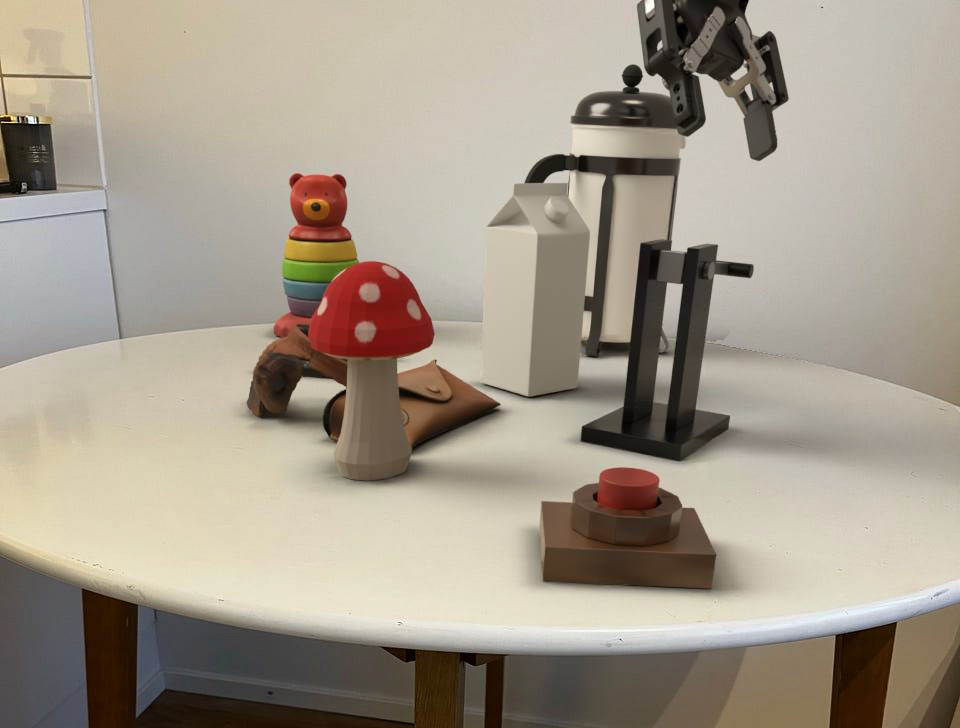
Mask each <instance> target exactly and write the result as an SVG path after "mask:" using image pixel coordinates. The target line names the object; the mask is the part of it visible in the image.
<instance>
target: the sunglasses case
mask: <svg viewBox="0 0 960 728" xmlns="http://www.w3.org/2000/svg"><path fill="white" fill-rule="evenodd" d="M437 361H438V360H437V359H433V360H431V361H430V362H429V363H426V364H424V365H421V366H418V367H415V368H411V369H408V370H404V371H401V372H397V373H398V388H399V399H400V406H401V413H402V419H403V424H404V429H405V432H406V435H407V437H408V440H409V442H410V445H411V448H412V449H413V448H414V447H416V446H417V445H419V444H421V443H423V442H424V441H426V440H429V439H432V438H434V437H436V436H438V435H440V434H442V433H445V432H447V431H449V430H452V429H455V428H457V427H461V426H463V425H466V424H468V423H470V422H471V421H473V420H476V419H477V418H479V417H482V416H483V415H485V414H488V413H489V412H491V411H493V410H494V409H496V408H498V407H499V406H502V404H501V403H500V402H499V401H496V400H495V399H493V398H492V397H490V396H489V395H487V394H486V393H483V392H482V391H480V390H478V389H477V388H475V387H474V386H473V385H471V384H470V383H467V382H466V381H464V380H463V379H461V378H460V377H458V376H456V375H455V374H453V373H451V372H450V371H448V370H447V369H446V368H443V367H442V366H440V365H438V364H437ZM345 402H346V388H344V389H342V390H340V391H339V392H337V393H336V394H335V395H334V396H332V397H331V398H330V399H329V400H328V402H327V403H326V405H325V407H324V409H323V412H322V413H323V414H322V426H323V430H324V431H325V433H326V435H327V437H328V438H329V439H330V440H332V441H333V442H338V440H339V437H340V434H341V429H342V424H343V418H344V410H345Z"/></svg>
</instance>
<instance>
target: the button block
mask: <svg viewBox="0 0 960 728" xmlns="http://www.w3.org/2000/svg"><path fill="white" fill-rule="evenodd" d="M598 486H599V482H594V483H587V484H585V485H583V486H581V487H579V488H578V489H575V490H574V491H573V492H572V500H571V502H568V501H548V500H542V501H541V502H540V515H539V529H538V535H539V546H540V547H539V548H540V549H539V550H540V561H541V578H542V581H543V582H553V583H554V582H555V583H575V584H577V583H578V584H595V585H596V584H598V585H599V584H600V585H617V586H619V585H621V586H638V587H639V586H640V587H641V586H642V587H660V588H661V587H664V588H666V587H667V588H685V589H704V590H705V589H709V590H711V589H712V588H713V581H714V576H715V575H714V574H715V568H716V561H717V553H716V551H715V549H714V546H713V544H712V542H711V540H710V538H709V536H708V534H707V532H706V530H705V528H704V525H703V523H702V521H701V519H700V516H699V515H698V513H697V511H696V509H695V507H683V504H682V502H681V500H680V497H679V496H678V495H677V494H674V493H672V492H671V491H668V490H666V489H664V488H662V487H659V489H658V497H657V505H656V507H655V508H654V509H648V510H642V511H633V510H619V509H614V508H610V507H606V506H603V505H601V504H600V503H598V502H597V497H598Z"/></svg>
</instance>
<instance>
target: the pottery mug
mask: <svg viewBox="0 0 960 728" xmlns="http://www.w3.org/2000/svg"><path fill="white" fill-rule="evenodd" d="M308 331H309V330H307V329H304V328H301V327H296V326H293V327H292V329H291V331H290V333H289V335H288V336H287V337H280V338H278V339H276V340H273V341H272V342H271V343H270V344H268V345H267V346H266V348H265V349H264V350H263V351H262V353H261V355H259V357H258V361H257V362H256V364H255V367H254V369H253V372H252V380H251V382H250V387H249V392H248V398H247V400H246V406H247V408H248V410H250V411H251V412H252V414H254V415H255V416H256V417H259V418H261V417H262V416H263V408H264V407H265V409H266V410H267V412H270V413H280V414H281V413H287V411H288V407H289V404H290V401H291V397H292V396H293V395H292V394H293V392H294V391H295V390H296V388H297V385H298V383H299V382H300V381H301V380H302V378H303V376H302V372H303V368H304V364H303V362H302V361H301V360H304V361H309V363H308V364H309V365H308V367H309V368H310V369H313V370H316V371H318V372H320V373H321V374H322V375H324V376H327V377H331V378H330V379H333V380H334V381H335V382H336V383H337V384H340V385H342V386H344V387H345V389H347V368H348V362H347V359H341V358H336V357H332V356H329V355H326V354H324V353H322V352H319V351H317V350H315V349H313V348H311V345H310V340H309V335H308ZM263 406H264V407H263Z"/></svg>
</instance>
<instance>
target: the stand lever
mask: <svg viewBox="0 0 960 728" xmlns="http://www.w3.org/2000/svg"><path fill="white" fill-rule="evenodd" d="M686 255H687V251H682V250H681V251H680V250H671V251H670V250H661V251H660V257H659V264H658V271H657V278H656V281H658V282H666V283H667V284H675V285H676V284H677V285H683V279H684V271H685V263H686ZM754 271H755V267H754V264H753V263H745V262H735V261H725V260H718V259H716V265H715V272H714V276H715V275H717V276H726V277H736V278H745V279H751V278H752V277H753V275H754Z"/></svg>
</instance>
